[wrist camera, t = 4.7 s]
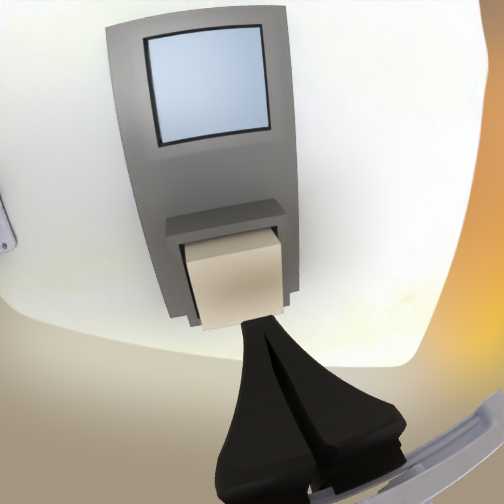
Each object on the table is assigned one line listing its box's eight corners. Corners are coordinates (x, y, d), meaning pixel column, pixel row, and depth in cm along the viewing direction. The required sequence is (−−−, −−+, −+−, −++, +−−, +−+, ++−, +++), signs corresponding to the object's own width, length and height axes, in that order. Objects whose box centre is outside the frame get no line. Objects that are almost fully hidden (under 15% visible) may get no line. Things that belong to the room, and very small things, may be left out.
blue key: (164, 136, 15) (162, 143, 13) (151, 46, 12) (148, 40, 10) (257, 121, 16) (268, 126, 14) (249, 33, 13) (259, 27, 11)
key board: (170, 309, 23) (171, 342, 20) (109, 30, 12) (94, 18, 10) (294, 283, 25) (310, 311, 22) (280, 9, 14) (301, -4, 11)
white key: (200, 309, 20) (203, 330, 18) (184, 243, 17) (186, 262, 16) (274, 293, 21) (283, 313, 19) (270, 227, 18) (280, 243, 16)
